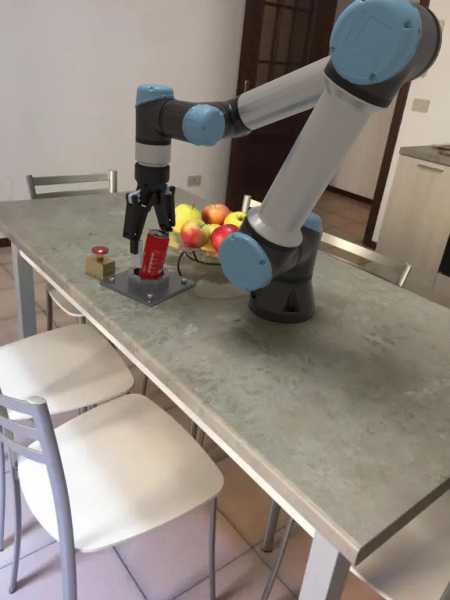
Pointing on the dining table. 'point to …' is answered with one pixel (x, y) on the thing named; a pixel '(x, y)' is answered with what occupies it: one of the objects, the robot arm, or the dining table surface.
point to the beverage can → (154, 254)
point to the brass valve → (100, 263)
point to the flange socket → (147, 285)
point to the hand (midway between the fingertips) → (149, 261)
